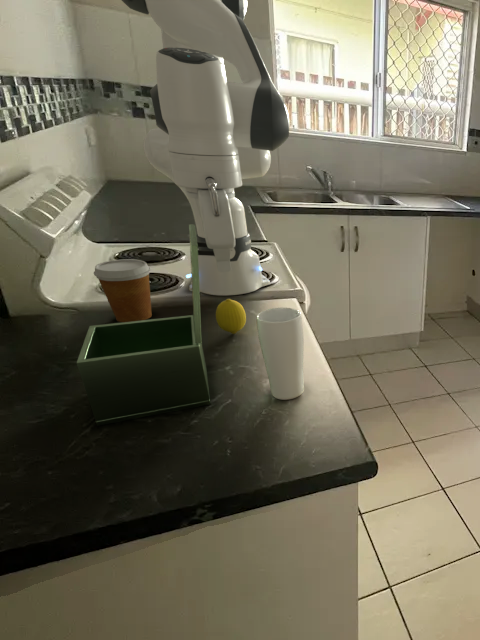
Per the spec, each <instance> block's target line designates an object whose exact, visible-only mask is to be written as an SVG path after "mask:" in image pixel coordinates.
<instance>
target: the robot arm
mask: <svg viewBox="0 0 480 640" xmlns="http://www.w3.org/2000/svg"><path fill="white" fill-rule="evenodd" d="M121 1H122V3H123V4H124V5H126V6H127V8H129V9H130V10H133V11H135V12H138V13H141V14H144V15H147V16H149V15H150V16H151V18H152V20H153V22H154V23H155V24H156V25H157V26H158V28H159V29H160V30H161V42H162V48H161V49H159V50H158V51H156V56H155V63H156V64H155V67H156V68H155V69H156V70H155V71H156V84H155V85H154V86H153V87H151V89H150V90H149V94H150V98H151V103H152V107H153V113H154V117H155V124H156V126H157V127H155V128H150V129H149V130H148V132H147V133H146V134H145V136H144V139H143V152H144V155H145V158H146V159H147V161H148V162H149V164H150V165H151V166H152V167H153V168H154V169H155V170H156V171H157V172H159V173H161V174H162V175H163V176H165V177H166V178H168V179H169V180H171V181H172V182H173V183H174V184H175V185H176V186H177V187H178V188H179V189H180V190H181V192H182V193H183V194H184V196H185V197H186V199H187V201H188V202H189V205H190V208H191V211H192V212H191V213H192V216H193V219H194V225H195V230H196V237H197V242H206V244H207V247H198V250H213V251H214V255H215V256H207V255H198V264H199V290H200V293H203V294H207V295H211V296H237V295H243V294H249V293H252V292H255V291H257V290H259V289H261V288H263V287H265V286H269V285H271V280H270V279H269V278H268V277H266V276H265V275H264V274H263V273H262V271H263V268H262V267H261V261H260V256H259V255H258V254H257V253H256V252H254V251H253V250H252V249H251V248H252V239H251V236H250V233H249V232H248V227H247V219H246V212H245V211H246V210H245V207H244V204H243V203H242V201H240V200H239V199H238V198H237V197H235V196H236V193H235V189H237V188H241V187H243V180H247V179H255V178H261V177H264V176H265V175H266V174H267V173H268V172H269V169H270V168H271V163H272V156H271V155H272V154H271V152H274V151H275V150H277V149H279V147H281V146H282V145H283V144H284V143H285V142H286V141H287V140H288V139H289V136H290V128H291V127H290V125H291V123H290V116H289V112H288V108H287V106H286V104H285V102H284V100H283V97H282V95H281V94H280V92H279V91H278V89H277V88H276V85H275V84H274V82H273V80H272V78H271V76H270V74H269V71H268V68H267V67H266V65H265V62H264V60H263V58H262V56H261V53H260V51H259V49H258V46H257V44H256V43H255V42H256V41H255V40H254V37H253V36H252V34H251V32H250V30H249V28H248V26H247V25H246V23H245V21H244V20H245V15H246V13H247V8H248V0H121ZM225 61H226V62H228V63H230V64H231V65H233V66H234V68H235V69H236V70H237V73H238V75H239V78H240V79H241V82H235V81H227V75H226V68H225V64H224V63H225ZM185 277H186V279H189V278H191V273H189V274H186V275H185ZM188 290H189V291H190V292H192V282H190V285H189V286H188Z"/></svg>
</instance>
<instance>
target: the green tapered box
mask: <svg viewBox="0 0 480 640" xmlns="http://www.w3.org/2000/svg"><path fill="white" fill-rule="evenodd" d="M76 366H77V369H78V371H79V374H80V378H81V381H82V384H83V387H84V390H85V393H86V397H87V400H88V403H89V405H90V408H91V412H92V416H93V417H94V421H95V424H96V426H97V427H98V426H103V425H104V426H105V425H109V424H116V423H120V422H125V421H130V420H136V419H140V418H146V417H151V416H156V415H157V416H158V415H161V414H167V413H173V412H178V411H182V410H187V409H193V408H199V407H204V406H209V405H211V396H210V389H209V388H210V387H209V379H208V371H207V364H206V358H205V354H204V348H203V342H201V343H195V332H194V320H193V314H191V315H180V316H171V317H163V318H151V319H146V320H142V321H132V322H114V323H113V322H112V323H106V324H105V323H104V324H95V325H89V327H88V330H87V332H86V335H85V338H84V340H83V345H82V346H81V348H80V352H79V355H78V358H77V360H76Z"/></svg>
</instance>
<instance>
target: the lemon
mask: <svg viewBox="0 0 480 640" xmlns="http://www.w3.org/2000/svg"><path fill="white" fill-rule="evenodd" d="M215 320H216V323H217V325H218V327H219V328H220V329H221V330H223V331H225V332H227V333H230V334H232V335H235V334H236V333H238V332H239V331H241V330H242V329H243V328H244V327H245V325H246V324H247V323H246V322H247V314H246V311H245V309H244V307H243V305H242V304H241V303H240V302H238V301H237V300H235V299H234V300H233V299H231V298H226V299H225V300H223V301H221V302H220V303H219V304H218V305H217V307H216V310H215Z"/></svg>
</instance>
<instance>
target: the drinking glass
mask: <svg viewBox="0 0 480 640" xmlns="http://www.w3.org/2000/svg"><path fill="white" fill-rule="evenodd" d="M255 317H256V328H257V334H258V335H257V336H258V341H259V346H260V349H261V354H262V357H263V362H264V366H265V370H266V374H267V378H268V383H269V389H270V394H271V396H272V397H273V398H275V399H277V400H280V401H281V400H283V401H289V400H293V399H295V398H298V397H300V396H301V395H303V393H304V391H305V383H304V343H305V342H304V341H305V340H304V326H303V325H304V324H303V320H302V319H303V317H302V312H301V311H300V310H298V309H295V308H291V307H273V308H267V309H264V310H261V311H260V312H258V313H257V314H256V316H255Z"/></svg>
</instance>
